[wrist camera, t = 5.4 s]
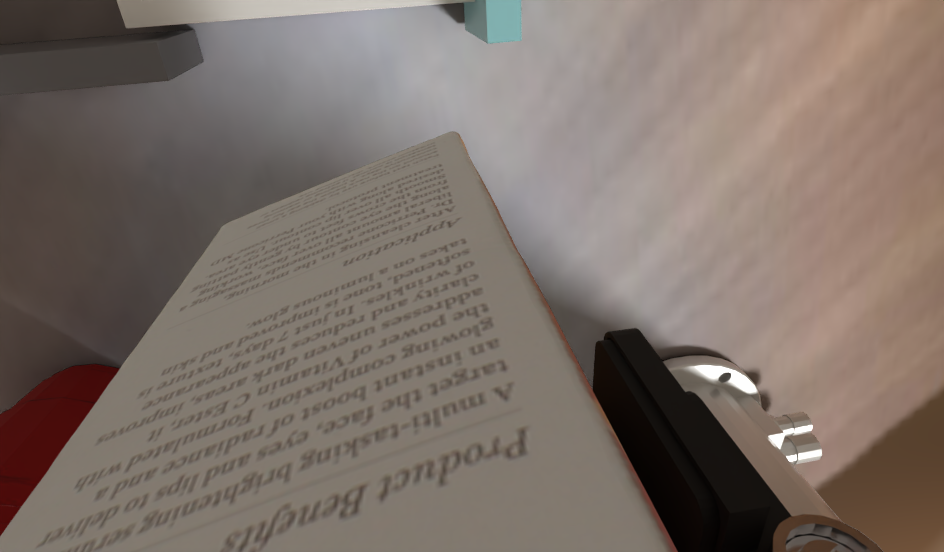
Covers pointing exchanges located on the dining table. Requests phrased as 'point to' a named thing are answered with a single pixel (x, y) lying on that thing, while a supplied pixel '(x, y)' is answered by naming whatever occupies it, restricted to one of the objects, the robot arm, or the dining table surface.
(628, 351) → the robot arm
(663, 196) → the dining table surface
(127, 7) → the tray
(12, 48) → the bay
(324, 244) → the small box
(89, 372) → the plastic cup
